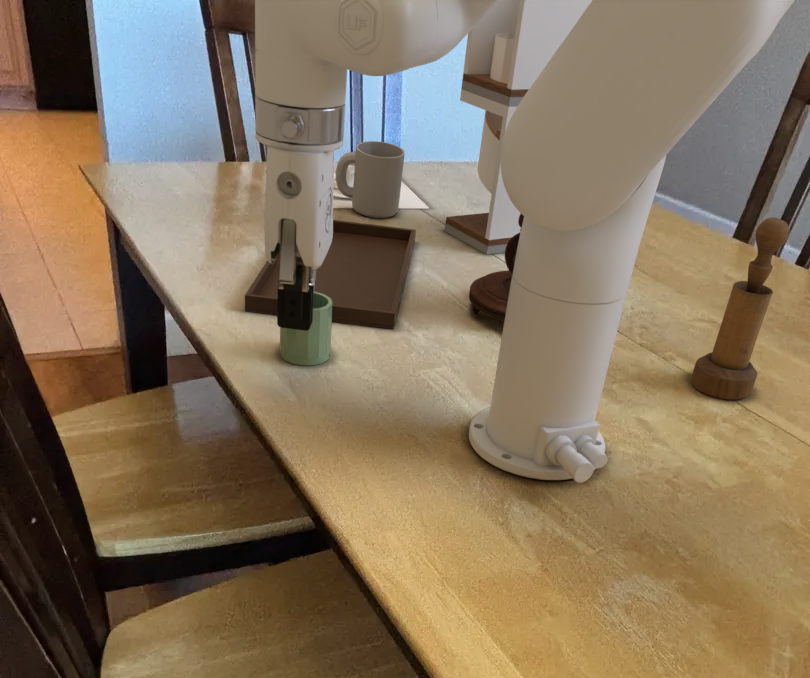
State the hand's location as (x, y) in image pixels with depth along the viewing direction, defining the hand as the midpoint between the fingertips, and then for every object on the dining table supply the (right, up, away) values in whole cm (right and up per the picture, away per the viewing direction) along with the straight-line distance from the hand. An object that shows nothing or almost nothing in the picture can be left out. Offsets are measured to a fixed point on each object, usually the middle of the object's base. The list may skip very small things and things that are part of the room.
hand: (294, 325), depth 85 cm
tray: (+2, +13, +27) cm, 30 cm away
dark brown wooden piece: (+26, +6, +22) cm, 34 cm away
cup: (+5, +30, +50) cm, 58 cm away
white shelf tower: (+24, +24, +45) cm, 56 cm away
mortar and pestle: (+45, -4, +10) cm, 47 cm away
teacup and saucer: (+2, +37, +59) cm, 69 cm away
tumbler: (0, -1, +7) cm, 7 cm away
